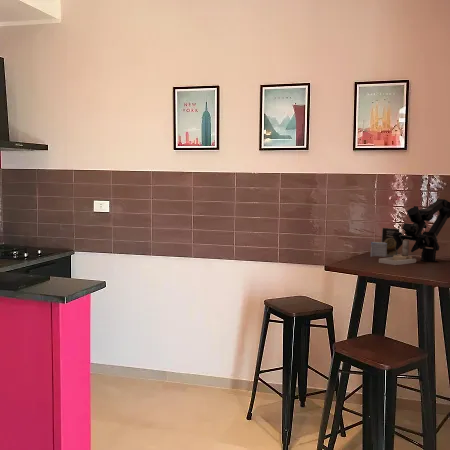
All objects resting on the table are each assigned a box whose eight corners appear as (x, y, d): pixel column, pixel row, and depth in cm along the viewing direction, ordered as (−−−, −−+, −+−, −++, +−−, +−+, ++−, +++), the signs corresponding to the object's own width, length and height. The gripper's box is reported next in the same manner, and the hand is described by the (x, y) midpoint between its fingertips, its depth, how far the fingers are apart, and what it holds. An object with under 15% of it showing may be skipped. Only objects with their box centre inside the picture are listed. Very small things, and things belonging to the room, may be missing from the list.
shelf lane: (398, 262, 277) (399, 256, 277) (416, 265, 269) (416, 258, 269) (378, 264, 265) (378, 258, 265) (395, 267, 257) (396, 261, 257)
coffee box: (380, 256, 298) (382, 228, 296) (380, 255, 304) (381, 227, 303) (397, 257, 296) (399, 229, 294) (396, 256, 302) (398, 228, 301)
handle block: (400, 260, 275) (401, 239, 274) (411, 262, 270) (413, 240, 269) (393, 261, 270) (394, 240, 269) (404, 263, 265) (405, 241, 264)
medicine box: (384, 257, 293) (385, 242, 292) (386, 259, 289) (387, 243, 288) (370, 257, 294) (370, 241, 293) (371, 258, 289) (372, 242, 289)
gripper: (395, 216, 279) (382, 238, 273) (428, 219, 265) (415, 242, 259) (402, 230, 285) (389, 252, 278) (435, 234, 270) (422, 257, 264)
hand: (403, 250), depth 270 cm, fingers open, 8 cm apart
